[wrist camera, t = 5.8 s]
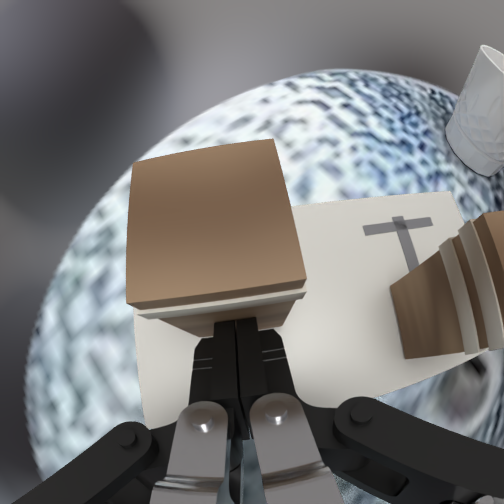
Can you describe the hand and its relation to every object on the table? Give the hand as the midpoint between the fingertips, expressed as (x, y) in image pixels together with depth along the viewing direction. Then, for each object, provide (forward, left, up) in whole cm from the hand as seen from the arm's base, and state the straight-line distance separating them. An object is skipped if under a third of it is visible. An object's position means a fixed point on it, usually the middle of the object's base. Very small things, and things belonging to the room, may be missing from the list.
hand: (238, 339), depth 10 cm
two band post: (-9, +4, -3) cm, 10 cm away
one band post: (-1, -2, -3) cm, 4 cm away
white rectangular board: (-5, 0, -5) cm, 7 cm away
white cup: (-26, -4, -5) cm, 27 cm away
